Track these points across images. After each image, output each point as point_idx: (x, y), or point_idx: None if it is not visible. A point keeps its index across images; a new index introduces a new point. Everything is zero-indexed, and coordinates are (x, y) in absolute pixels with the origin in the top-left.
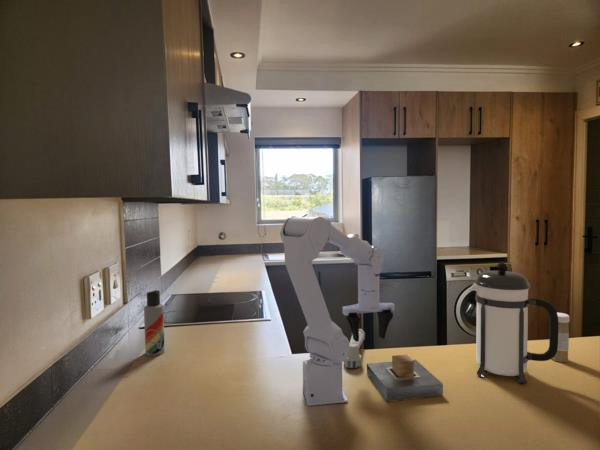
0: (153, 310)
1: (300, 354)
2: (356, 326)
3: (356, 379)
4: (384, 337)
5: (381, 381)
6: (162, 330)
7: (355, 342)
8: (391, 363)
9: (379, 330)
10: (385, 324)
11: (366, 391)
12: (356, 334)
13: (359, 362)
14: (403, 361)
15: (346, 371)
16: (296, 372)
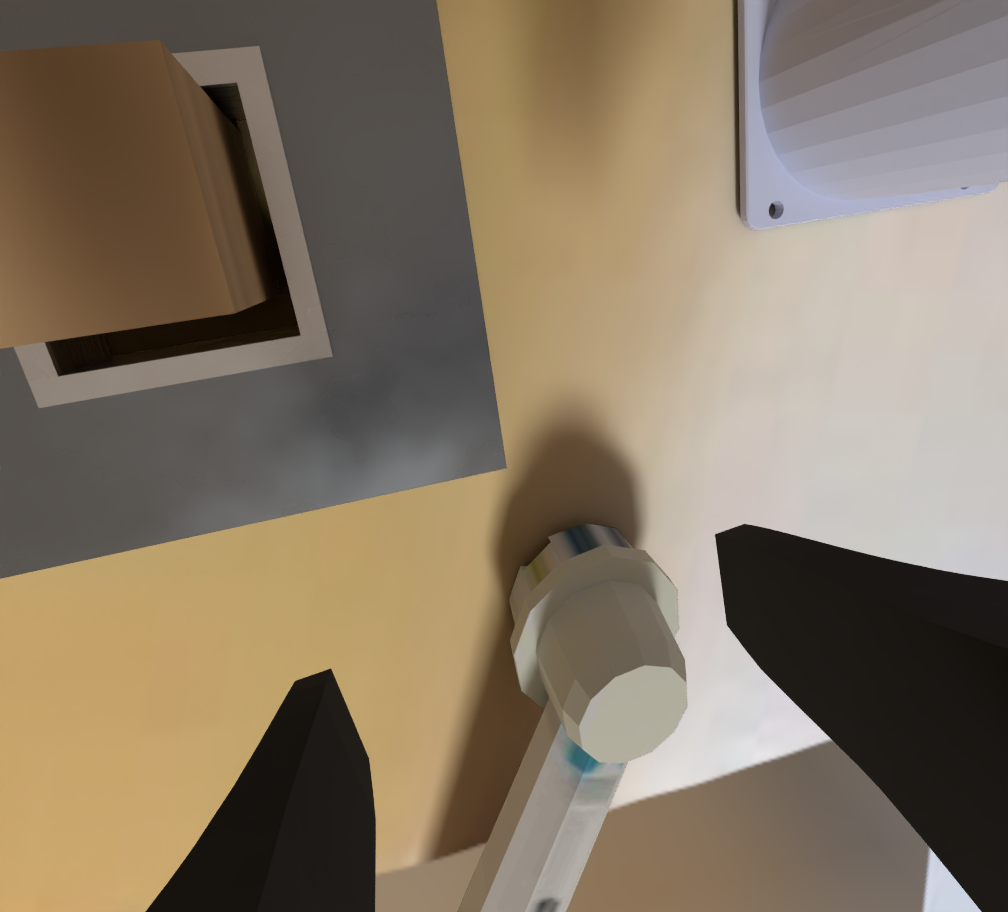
0: None
1: None
2: (1001, 606)
3: (584, 352)
4: (292, 689)
5: (434, 24)
6: None
7: (568, 813)
8: (246, 482)
9: (364, 837)
10: (233, 889)
11: (544, 126)
12: (837, 549)
13: (531, 584)
14: (61, 55)
15: (632, 488)
16: (955, 458)
